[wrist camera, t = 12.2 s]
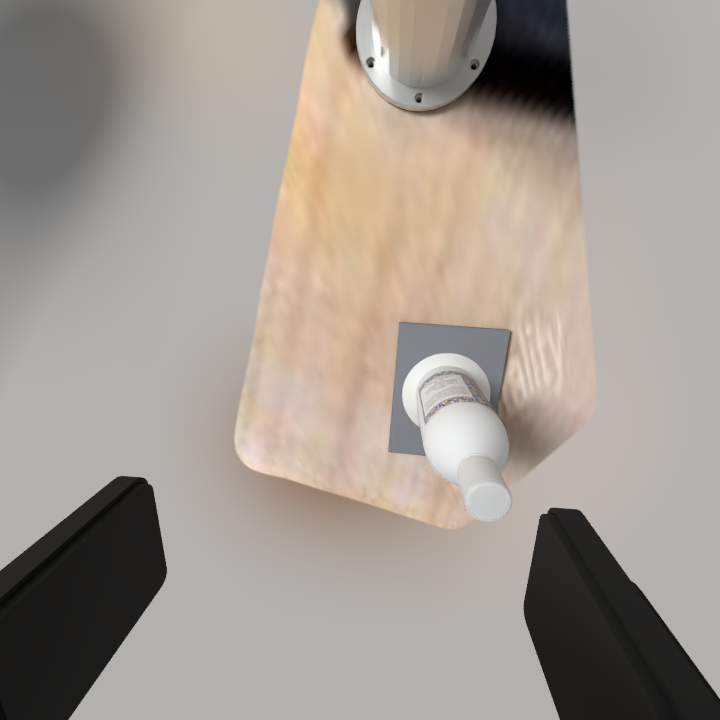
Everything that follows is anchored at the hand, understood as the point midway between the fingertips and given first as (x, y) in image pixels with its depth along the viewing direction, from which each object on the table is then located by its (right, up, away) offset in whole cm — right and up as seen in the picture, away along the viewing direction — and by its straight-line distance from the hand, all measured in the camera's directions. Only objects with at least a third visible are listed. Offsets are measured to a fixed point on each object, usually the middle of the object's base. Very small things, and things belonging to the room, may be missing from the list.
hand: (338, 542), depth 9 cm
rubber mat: (+11, +1, +34) cm, 36 cm away
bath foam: (+10, +1, +33) cm, 35 cm away
